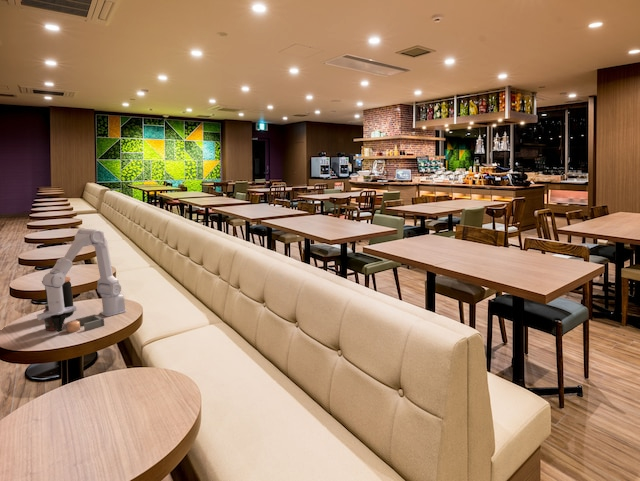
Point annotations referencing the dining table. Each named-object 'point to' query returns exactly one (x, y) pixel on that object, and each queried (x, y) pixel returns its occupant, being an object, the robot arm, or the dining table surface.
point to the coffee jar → (66, 295)
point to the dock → (91, 322)
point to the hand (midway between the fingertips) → (59, 331)
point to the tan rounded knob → (73, 326)
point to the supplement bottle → (48, 321)
